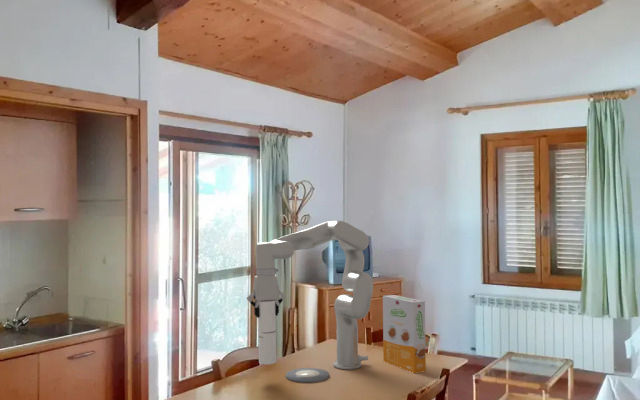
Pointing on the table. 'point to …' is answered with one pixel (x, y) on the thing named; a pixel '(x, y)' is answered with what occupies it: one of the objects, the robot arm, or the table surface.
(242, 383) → the table surface
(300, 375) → the plate
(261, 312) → the cylindrical container
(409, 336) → the cereal box
